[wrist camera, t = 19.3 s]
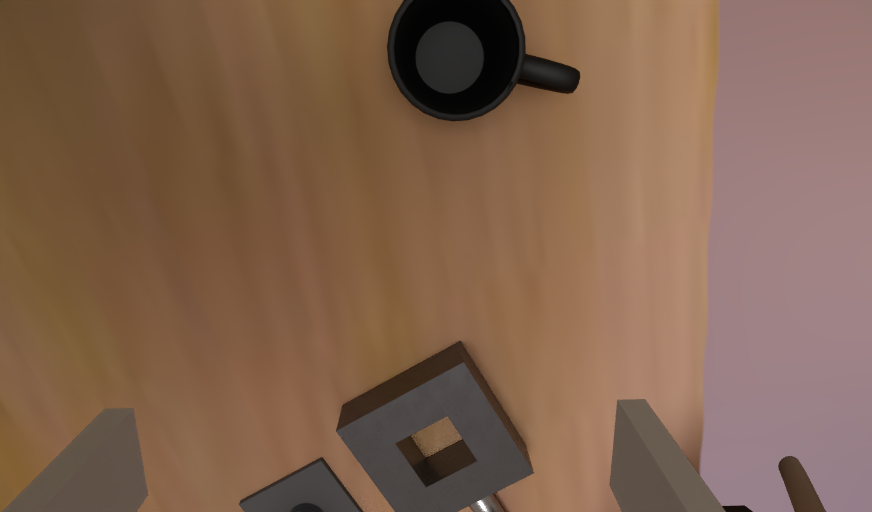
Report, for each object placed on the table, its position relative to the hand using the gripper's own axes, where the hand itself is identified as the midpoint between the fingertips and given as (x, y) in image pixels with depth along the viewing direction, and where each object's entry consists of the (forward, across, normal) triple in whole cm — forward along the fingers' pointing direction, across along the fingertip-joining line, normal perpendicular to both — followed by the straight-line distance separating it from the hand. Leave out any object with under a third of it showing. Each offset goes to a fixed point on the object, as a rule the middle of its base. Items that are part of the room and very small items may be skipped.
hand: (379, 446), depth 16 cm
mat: (+32, -10, -29) cm, 44 cm away
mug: (+32, +5, +11) cm, 34 cm away
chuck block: (+32, +4, -24) cm, 40 cm away
